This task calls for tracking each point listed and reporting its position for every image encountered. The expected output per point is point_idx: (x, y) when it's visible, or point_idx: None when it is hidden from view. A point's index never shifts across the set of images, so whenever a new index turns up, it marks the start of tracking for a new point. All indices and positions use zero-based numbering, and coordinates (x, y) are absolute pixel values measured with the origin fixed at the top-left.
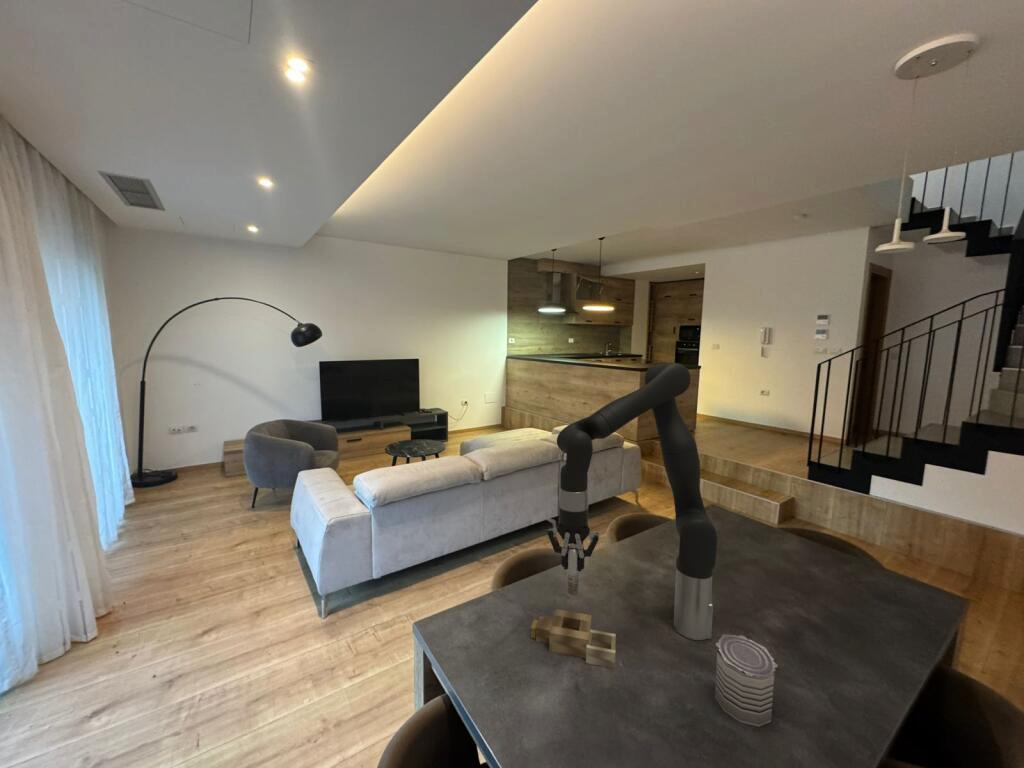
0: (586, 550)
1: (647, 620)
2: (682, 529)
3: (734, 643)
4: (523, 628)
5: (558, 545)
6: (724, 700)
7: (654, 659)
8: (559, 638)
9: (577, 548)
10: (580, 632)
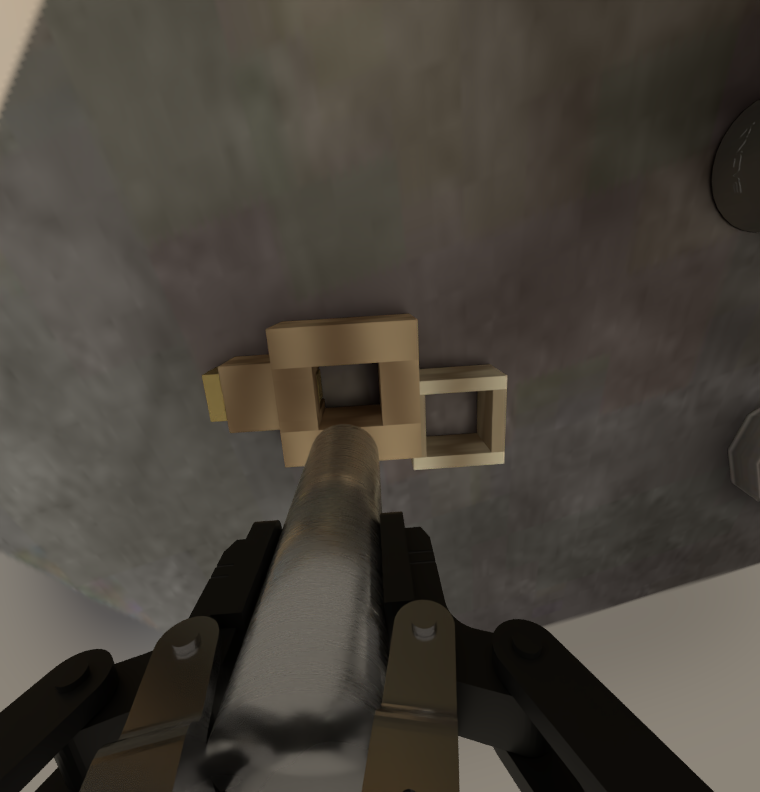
0: (495, 717)
1: (616, 163)
2: None
3: None
4: (182, 371)
5: (71, 736)
6: (757, 495)
7: (603, 369)
8: None
9: None
10: (389, 432)
